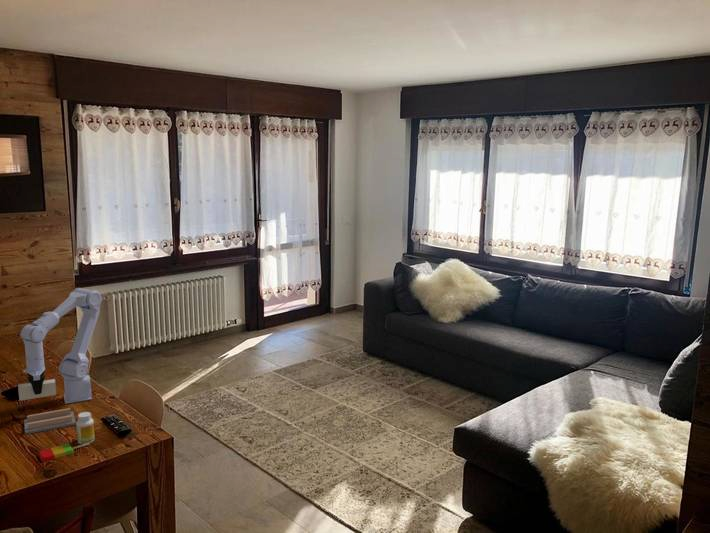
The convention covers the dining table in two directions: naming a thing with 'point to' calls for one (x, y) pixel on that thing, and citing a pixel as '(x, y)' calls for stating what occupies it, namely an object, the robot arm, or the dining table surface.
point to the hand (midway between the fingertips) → (37, 391)
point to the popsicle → (58, 452)
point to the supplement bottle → (85, 428)
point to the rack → (49, 421)
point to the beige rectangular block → (28, 393)
